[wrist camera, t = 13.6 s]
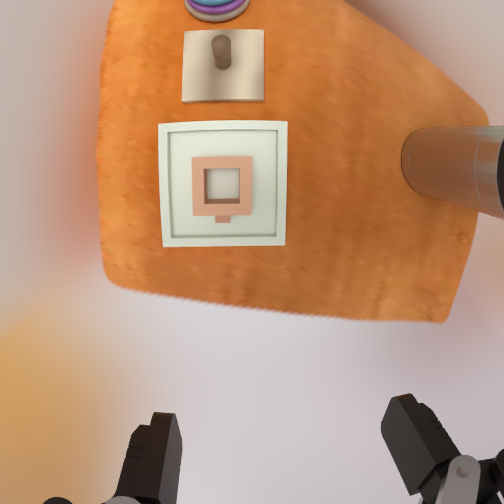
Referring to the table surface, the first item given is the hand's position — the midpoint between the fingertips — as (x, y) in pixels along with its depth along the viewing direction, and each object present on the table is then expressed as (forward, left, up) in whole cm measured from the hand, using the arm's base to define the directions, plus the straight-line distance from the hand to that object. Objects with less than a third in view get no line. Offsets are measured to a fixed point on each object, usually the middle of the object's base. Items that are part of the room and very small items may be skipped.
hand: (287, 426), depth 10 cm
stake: (+3, -20, -28) cm, 35 cm away
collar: (+3, -6, -28) cm, 28 cm away
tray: (+3, -6, -28) cm, 29 cm away
